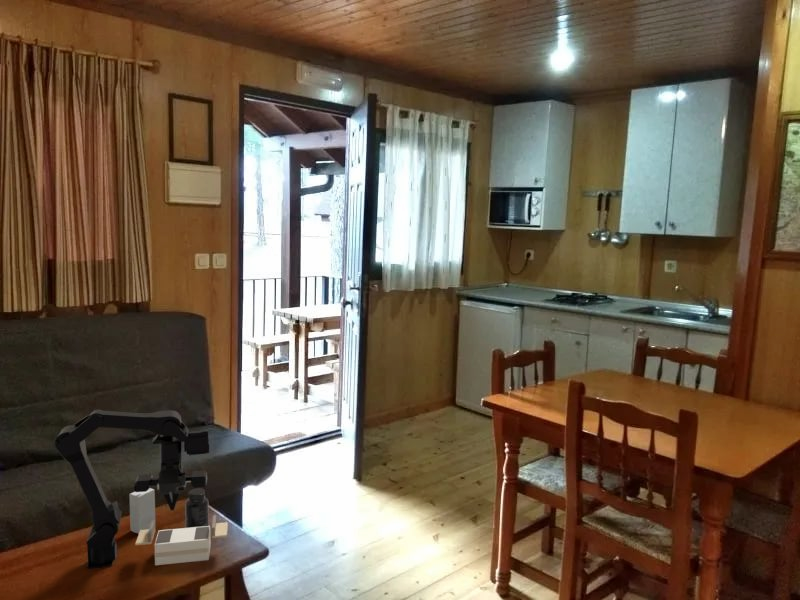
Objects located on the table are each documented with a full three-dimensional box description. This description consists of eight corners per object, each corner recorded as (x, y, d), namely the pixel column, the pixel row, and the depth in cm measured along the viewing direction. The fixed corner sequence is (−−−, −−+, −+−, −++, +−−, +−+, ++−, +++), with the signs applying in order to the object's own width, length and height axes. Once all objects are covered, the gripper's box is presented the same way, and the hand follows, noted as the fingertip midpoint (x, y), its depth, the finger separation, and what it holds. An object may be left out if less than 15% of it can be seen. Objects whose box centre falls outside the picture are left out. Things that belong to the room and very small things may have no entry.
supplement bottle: (180, 530, 187) (179, 493, 186) (197, 521, 193) (196, 484, 192) (197, 536, 184) (196, 498, 183) (213, 526, 190) (213, 489, 189)
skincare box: (146, 523, 192) (145, 485, 190) (156, 526, 189) (155, 488, 188) (129, 531, 186) (128, 493, 185) (139, 535, 184) (138, 496, 183)
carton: (154, 565, 168) (154, 544, 167) (159, 550, 176) (158, 530, 175) (208, 560, 171) (208, 539, 171) (210, 545, 179) (210, 525, 178)
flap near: (155, 530, 175) (155, 520, 174) (151, 543, 167) (150, 533, 167) (140, 531, 174) (139, 521, 173) (135, 545, 166) (135, 534, 166)
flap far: (211, 538, 171) (211, 527, 171) (213, 525, 178) (213, 515, 178) (226, 536, 172) (226, 526, 172) (227, 523, 179) (227, 514, 179)
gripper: (129, 470, 162) (131, 526, 164) (204, 465, 166) (205, 520, 168) (137, 455, 173) (139, 507, 175) (206, 450, 177) (207, 502, 179)
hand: (172, 509), depth 174 cm, fingers closed
